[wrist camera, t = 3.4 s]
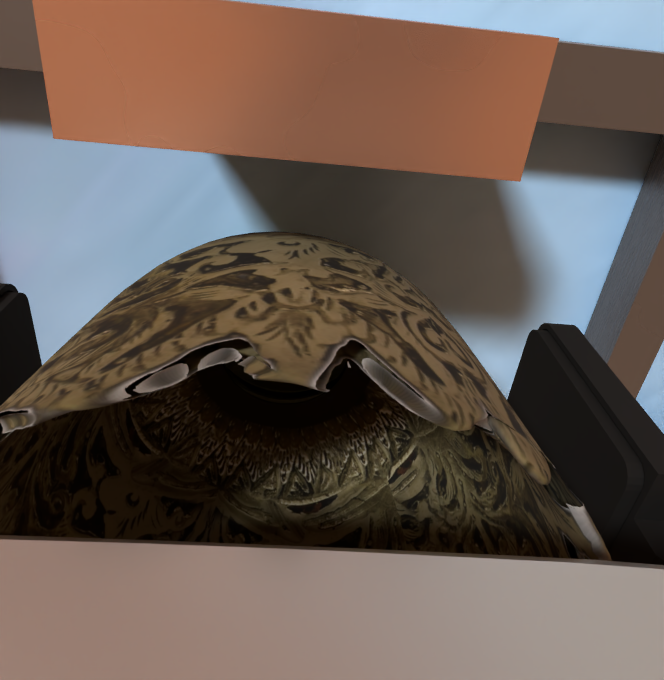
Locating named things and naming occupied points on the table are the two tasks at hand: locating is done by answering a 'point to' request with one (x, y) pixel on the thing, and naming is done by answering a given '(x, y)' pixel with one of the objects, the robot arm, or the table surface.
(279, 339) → the cup
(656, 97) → the frame
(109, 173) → the table surface
